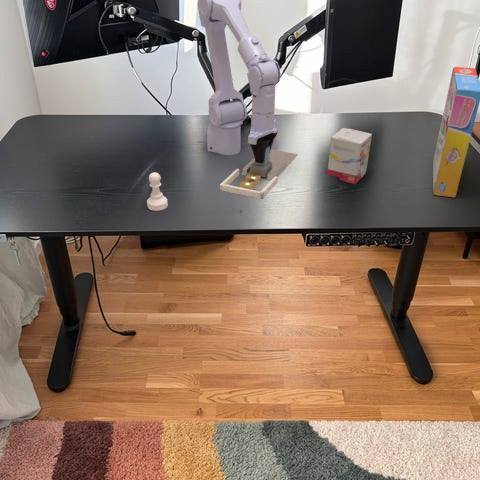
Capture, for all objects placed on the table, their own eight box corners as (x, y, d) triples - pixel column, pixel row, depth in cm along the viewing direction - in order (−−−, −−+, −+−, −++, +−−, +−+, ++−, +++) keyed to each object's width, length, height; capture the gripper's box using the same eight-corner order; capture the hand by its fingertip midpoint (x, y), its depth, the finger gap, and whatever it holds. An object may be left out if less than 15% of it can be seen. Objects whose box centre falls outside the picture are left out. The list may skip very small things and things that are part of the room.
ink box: (355, 185, 137) (361, 143, 130) (325, 177, 141) (329, 136, 134) (367, 172, 143) (373, 132, 136) (338, 165, 147) (342, 125, 140)
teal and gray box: (249, 174, 139) (249, 150, 136) (256, 167, 143) (256, 143, 139) (265, 177, 138) (266, 153, 134) (271, 170, 141) (272, 146, 137)
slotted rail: (239, 177, 141) (239, 168, 139) (266, 151, 155) (266, 143, 154) (274, 184, 137) (274, 175, 136) (298, 157, 152) (298, 148, 150)
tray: (220, 193, 133) (219, 184, 132) (236, 177, 141) (236, 168, 140) (262, 202, 129) (262, 193, 128) (277, 185, 137) (277, 176, 136)
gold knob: (243, 186, 136) (243, 177, 134) (247, 179, 139) (247, 171, 138) (258, 187, 135) (258, 179, 134) (262, 180, 138) (262, 172, 137)
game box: (455, 198, 130) (482, 91, 115) (432, 195, 132) (456, 89, 117) (452, 165, 147) (476, 67, 132) (432, 162, 148) (453, 65, 133)
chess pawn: (171, 207, 127) (168, 174, 122) (152, 213, 125) (148, 179, 120) (162, 199, 131) (159, 166, 126) (144, 204, 129) (140, 171, 124)
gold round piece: (237, 192, 133) (237, 184, 132) (242, 185, 136) (242, 177, 135) (252, 194, 132) (252, 186, 130) (257, 187, 135) (257, 179, 134)
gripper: (266, 122, 125) (265, 173, 132) (287, 104, 136) (285, 152, 143) (240, 118, 127) (240, 168, 135) (263, 100, 138) (262, 148, 146)
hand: (262, 159), depth 139 cm, fingers closed on teal and gray box, 3 cm apart
